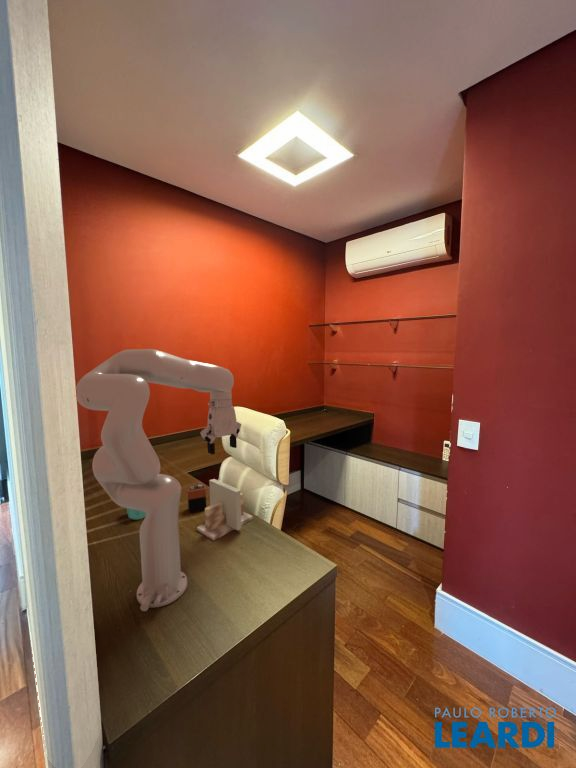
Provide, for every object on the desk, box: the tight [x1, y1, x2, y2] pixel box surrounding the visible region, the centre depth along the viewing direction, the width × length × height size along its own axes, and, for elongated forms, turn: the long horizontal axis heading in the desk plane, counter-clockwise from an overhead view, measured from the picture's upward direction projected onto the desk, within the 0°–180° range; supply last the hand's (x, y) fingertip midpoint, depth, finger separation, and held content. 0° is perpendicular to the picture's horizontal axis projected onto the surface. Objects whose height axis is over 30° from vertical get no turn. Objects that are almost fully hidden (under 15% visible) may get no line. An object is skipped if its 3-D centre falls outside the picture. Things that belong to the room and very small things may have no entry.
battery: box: [186, 483, 207, 514], centre depth 126 cm, size 4×7×10 cm, turn 113°
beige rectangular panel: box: [208, 478, 242, 531], centre depth 114 cm, size 2×16×14 cm, turn 48°
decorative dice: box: [125, 508, 146, 521], centre depth 123 cm, size 8×8×8 cm
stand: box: [196, 492, 254, 541], centre depth 115 cm, size 18×10×9 cm, turn 140°
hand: (222, 450), depth 112 cm, fingers open, 9 cm apart
